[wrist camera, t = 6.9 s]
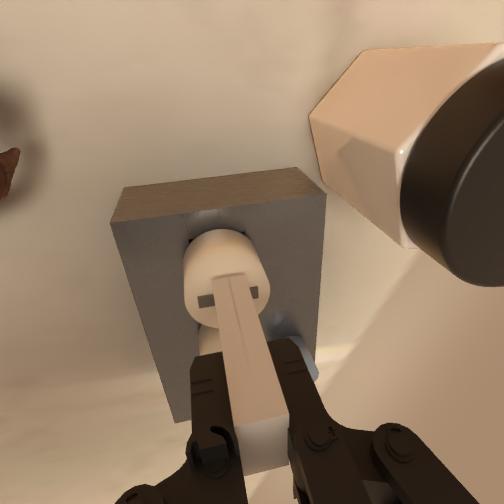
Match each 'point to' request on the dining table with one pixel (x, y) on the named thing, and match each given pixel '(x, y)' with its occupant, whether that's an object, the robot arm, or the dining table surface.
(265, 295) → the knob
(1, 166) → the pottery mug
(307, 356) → the potentiometer
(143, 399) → the dining table surface
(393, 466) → the robot arm
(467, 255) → the jar
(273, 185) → the panel
